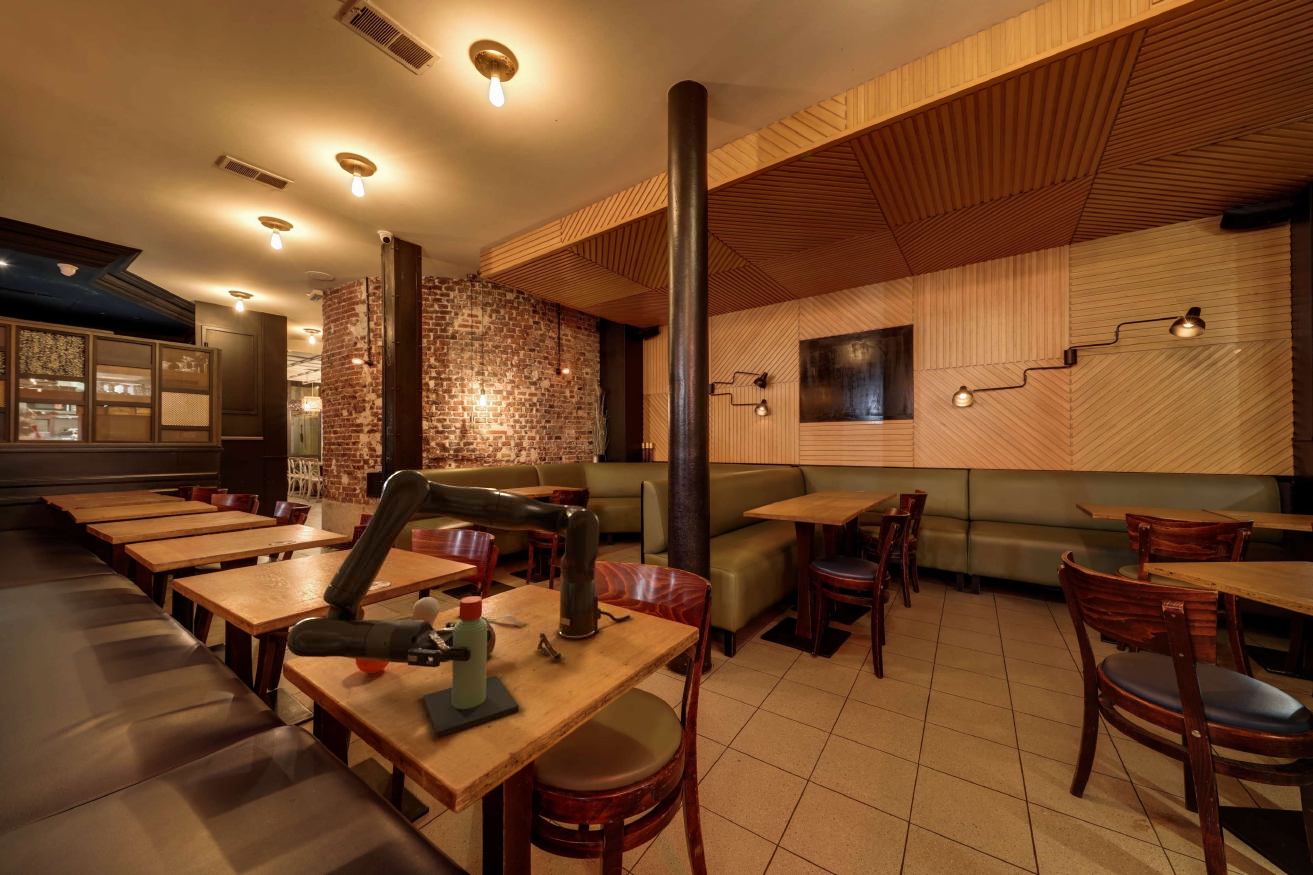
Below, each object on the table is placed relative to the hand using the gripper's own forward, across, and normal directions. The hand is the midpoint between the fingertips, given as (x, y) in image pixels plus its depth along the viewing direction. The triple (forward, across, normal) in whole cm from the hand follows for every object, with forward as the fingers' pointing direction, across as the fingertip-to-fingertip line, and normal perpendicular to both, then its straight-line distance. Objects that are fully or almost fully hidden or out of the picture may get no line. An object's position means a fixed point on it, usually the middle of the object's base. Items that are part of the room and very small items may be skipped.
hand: (481, 644), depth 87 cm
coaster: (-2, 0, +12) cm, 12 cm away
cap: (-2, 0, -5) cm, 6 cm away
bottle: (-2, 0, +11) cm, 11 cm away
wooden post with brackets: (+6, +21, +12) cm, 25 cm away
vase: (-9, +20, +12) cm, 25 cm away
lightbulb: (-27, +26, +12) cm, 39 cm away
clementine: (-29, +10, +12) cm, 33 cm away
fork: (-16, +41, +12) cm, 46 cm away
